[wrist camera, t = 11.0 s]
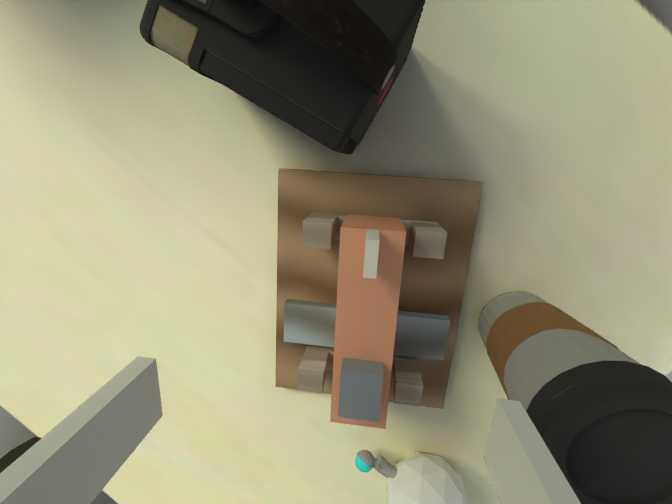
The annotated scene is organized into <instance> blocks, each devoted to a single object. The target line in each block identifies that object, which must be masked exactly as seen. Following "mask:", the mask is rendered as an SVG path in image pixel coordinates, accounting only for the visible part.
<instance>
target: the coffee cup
mask: <svg viewBox="0 0 672 504" xmlns="http://www.w3.org/2000/svg"><path fill="white" fill-rule="evenodd" d="M479 331H480V335H481V338H482V340H483V342H484V344H485V346H486V349H487V353H488V355H489V357H490V360H491V362H492V364H493V366H494V369H495V371H496V373H497V375H498V378H499V380H500V382H501V384H502V386H503V389H504V391H505V393H506V395H507V397H508V399H509V400H515V401H520V402H521V404H522V406H523V407H524V409H525V411H526V412H527V414H528V416H529V417H530V419H531V421H532V422H533V424H534V426H535V427H536V429H537V431H538V432H539V434H540V436H541V437H542V439H543V441H544V442H545V444H546V446H547V448H548V449H549V451H550V453H551V454H552V456H553V458H554V459H555V461H556V463H557V464H558V466H559V468H560V469H561V471H562V473H563V474H564V476H565V478H566V479H567V481H568V483H569V484H570V486H571V488H572V489H573V491H574V493H575V494H576V496H577V498H578V499H579V501H580V503H581V504H672V382H671V381H670V380H669V379H668V378H667V377H666V376H664V375H663V374H661V373H659V372H657V371H655V370H653V369H651V368H649V367H648V366H644V365H641V364H639V363H638V362H636V361H635V360H633V359H632V358H630V357H629V356H627V355H626V354H624V353H623V352H621V351H620V350H619V349H618V348H617V347H616V346H615V345H613V344H612V343H610V342H609V341H607V340H606V339H604V338H603V337H601V336H600V335H598V334H597V333H595V332H594V331H592V330H591V329H589V328H587V327H586V326H584V325H583V324H581V323H580V322H578V321H577V320H575V319H574V318H572V317H571V316H569V315H568V314H566V313H565V312H563V311H561V310H560V309H558V308H557V307H555V306H553V305H551V304H549V303H547V302H546V301H544V300H543V299H541V298H540V297H538V296H536V295H534V294H531V293H527V292H509V293H505V294H501V295H499V296H497V297H495V298H494V299H493V300H491V301H490V302H489V303H488V304H487V305H486V307H485V308H484V309H483V311H482V314H481V316H480V319H479Z"/></svg>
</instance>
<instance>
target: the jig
mask: <svg viewBox="0 0 672 504" xmlns="http://www.w3.org/2000/svg"><path fill="white" fill-rule="evenodd" d="M482 186H483V183H482V182H474V181H459V180H445V179H430V178H415V177H400V176H385V175H370V174H355V173H340V172H325V171H310V170H295V169H279V175H278V252H277V328H276V387H283V388H291V389H297V390H301V391H308V392H316V393H329V394H332V380H333V361H334V342H335V323H336V303H337V284H338V265H339V246H340V227H341V225H342V223H343V222H344V220H345V218H346V216H347V214H348V215H364V216H379V217H394V218H401V221H402V223H403V225H404V228H405V230H406V239H405V248H404V258H403V267H402V276H401V286H400V295H399V304H398V314H397V323H396V332H395V342H394V351H393V360H392V370H391V379H390V388H389V398H388V401H389V402H394V403H399V404H407V405H414V406H427V407H435V408H443V405H444V399H445V393H446V388H447V382H448V377H449V371H450V365H451V360H452V354H453V349H454V343H455V337H456V332H457V326H458V320H459V315H460V309H461V304H462V298H463V292H464V287H465V281H466V276H467V270H468V264H469V259H470V253H471V247H472V242H473V236H474V231H475V225H476V219H477V214H478V208H479V203H480V197H481V191H482Z"/></svg>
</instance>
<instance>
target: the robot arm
mask: <svg viewBox="0 0 672 504" xmlns="http://www.w3.org/2000/svg"><path fill="white" fill-rule="evenodd" d="M161 417H162V406H161V398H160V389H159V381H158V372H157V364H156V359H154V358H146V357H137V358H136V359H134V360H133V361H132V362H131V363H130V364H128V365H127V366H126V367H125V368H124V369H123V370H121V371H120V372H119V373H118V374H117V375H116V376H114V377H113V378H112V379H111V380H110V381H108V382H107V383H106V384H105V385H104V386H103V387H101V388H100V389H99V390H98V391H97V392H96V393H94V394H93V395H92V396H91V397H90V398H88V399H87V400H86V401H85V402H84V403H83V404H81V405H80V406H79V407H78V408H77V409H76V410H74V411H73V412H72V413H71V414H70V415H68V416H67V417H66V418H65V419H64V420H63V421H61V422H60V423H59V424H58V425H57V426H55V427H54V428H53V429H52V430H51V431H50V432H48V433H47V434H46V435H45V436H44V437H43V438H39V437H34V438H32V439H30V440H28V441H27V442H25V443H23V444H21V445H20V446H18V447H16V448H14V449H12V450H11V451H10V452H8V453H7V454H6V455H5V456H3V457H2V458H1V459H0V504H91V502H92V501H93V500H94V499H95V498H96V496H97V495H98V494H99V493H100V491H101V490H102V489H103V488H104V487H105V485H106V484H107V483H108V482H109V480H110V479H111V478H112V477H113V476H114V474H115V473H116V472H117V471H118V469H119V468H120V467H121V466H122V464H123V463H124V462H125V461H126V460H127V458H128V457H129V456H130V455H131V453H132V452H133V451H134V450H135V449H136V447H137V446H138V445H139V444H140V442H141V441H142V440H143V439H144V437H145V436H146V435H147V434H148V433H149V431H150V430H151V429H152V428H153V426H154V425H155V424H156V423H157V422H158V420H159V419H160V418H161ZM484 459H485V462H486V465H487V467H488V470H489V473H490V475H491V478H492V481H493V484H494V486H495V489H496V492H497V495H498V497H499V500H500V503H501V504H581V503H580V501H579V499H578V498H577V496H576V494H575V493H574V491H573V489H572V488H571V486H570V484H569V483H568V481H567V479H566V478H565V476H564V474H563V473H562V471H561V469H560V468H559V466H558V464H557V463H556V461H555V459H554V458H553V456H552V454H551V453H550V451H549V449H548V448H547V446H546V444H545V442H544V441H543V439H542V437H541V436H540V434H539V432H538V431H537V429H536V427H535V426H534V424H533V422H532V421H531V419H530V417H529V416H528V414H527V412H526V411H525V409H524V407H523V406H522V404H521V402H520V401H515V400H506V399H498V400H497V404H496V408H495V413H494V417H493V421H492V426H491V430H490V434H489V439H488V443H487V447H486V452H485V456H484Z"/></svg>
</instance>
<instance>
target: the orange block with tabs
mask: <svg viewBox="0 0 672 504" xmlns="http://www.w3.org/2000/svg"><path fill="white" fill-rule="evenodd" d="M405 239H406V230H405V228H404V225H403V223H402V221H401V218H394V217H379V216H364V215H348V214H347V216H346V218H345V220H344V222H343V223H342V225H341V227H340V246H339V265H338V284H337V303H336V323H335V342H334V361H333V380H332V400H331V419H330V422H337V423H345V424H352V425H360V426H368V427H376V428H384V429H385V426H386V416H387V407H388V398H389V388H390V379H391V370H392V360H393V351H394V342H395V332H396V323H397V314H398V304H399V295H400V286H401V276H402V267H403V258H404V248H405Z"/></svg>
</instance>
